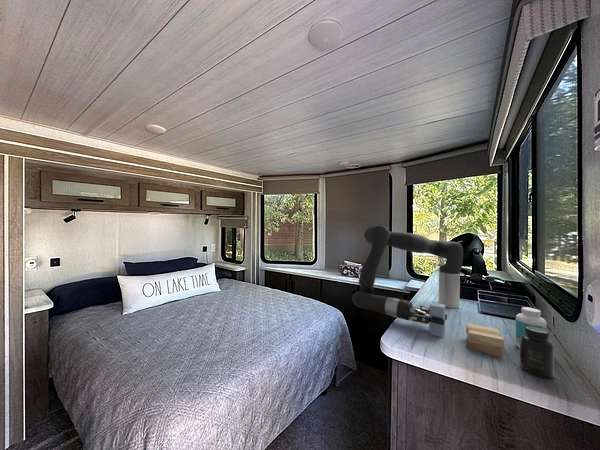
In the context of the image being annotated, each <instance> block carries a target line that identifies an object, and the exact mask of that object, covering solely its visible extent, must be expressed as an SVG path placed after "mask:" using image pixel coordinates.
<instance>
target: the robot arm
mask: <svg viewBox="0 0 600 450" xmlns="http://www.w3.org/2000/svg"><path fill="white" fill-rule="evenodd" d="M363 236H364V239H365V240H366V242H367V243H369V244H370V245H371V249H370V250H369V254H368V256H367V258H366V259H365V261H364V263H363V265H362V268H361V271H360V273H359V278H358V285H360V286H359V287H360V289H359V291H356V292H354V293H353V294H352V296H351V301H352V303H353V304H354V306H356V307H357V308H361V309H364V310H370V311H375V312H378V313H381V314H385V315H388V316H390V317H393V318H397V319H401V320H405V321H408V322H409V321H412V322H416V323H421V324H425V325H429V323H436V324H440V325H444V319H442V318H438V317H434V316H433V317H432V316H431V315H430V307H427V306H423V305H419V306H413V303H412V301H409V300H405V299H399V298H396V297H388V296H384V295H377V294H376V295H375V294H374V285H375V282H376V278H377V277H376V276H377V273H378V269H379V267H380V263H381V259H382V257H383V255H384V252H385V250H386V247H387V246H388V247H392V248H395V249H398V250H402V251H407V252H411V253H417V254H429V255H433V256H435V257H439V258H441V259H445V260H446V261H445V264H442V265H439V268H438V294H437V295H438V297H437V299H438V301H437V303H439V304H444V305H446V308H449V309H459V308H460V297H461V295H460V293H461V292H460V291H461V287H460V286H461V285H460V284H461V270H462V268H463V258H464V248H463V246H462V244H461V243H459V242H457V241H447V240H446V241H444V240H434V239H430V238H428V237H426V236H424V235H421V234H417V233H412V232H405V231H390V230H389V228H388V227H386V226H385V225H382V224H380V225H379V224H378V225H372V226H369V227H367V228H366V230H365V231H364V234H363ZM447 319H448V315H447V314H446V313H445V321H447Z"/></svg>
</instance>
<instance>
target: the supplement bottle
mask: <svg viewBox="0 0 600 450" xmlns="http://www.w3.org/2000/svg"><path fill="white" fill-rule="evenodd" d="M525 334H526V335H523V336H521V337H520V348H519V366H520V368H521V369H522V370H524V371H525V372H527V373H529V374H531V375H533V376H536V377H540V378H544V379H551V378H552V377H553V376H554V365H555V364H554V362H555V360H554V359H555V358H554V357H555V346H554V344H553V343H552V342H551V341H550V340H549V339H550V332H549V331H548V330H544V329H541V328H538V327H533V326H525Z"/></svg>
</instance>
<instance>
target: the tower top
mask: <svg viewBox="0 0 600 450" xmlns="http://www.w3.org/2000/svg"><path fill="white" fill-rule="evenodd" d="M465 332H466V335H467V336H468V339H469V342H473V343H478V344H482V345H487V346H491V347H496V348H500V349H501V350H505V338H504V337H503V335H502V333H501V332H500V331H499V329H498V328H494V327H489V326H488V327H487V326H484V325H479V324H478V325H477V324H473V323H467V322H466V325H465ZM467 336H466V337H467Z"/></svg>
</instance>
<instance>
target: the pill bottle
mask: <svg viewBox="0 0 600 450" xmlns="http://www.w3.org/2000/svg"><path fill="white" fill-rule="evenodd" d="M541 315H542V311H541V310H540V309H537V308H533V307H528V306H527V307H525V306H524V307H523V306H522V307H521V313H518V314H516V315H515V334H514V335H515V337H514V338H515V341H514V342H515V346H516V347H518V348H519V349H520V337H521V336H523V335H526V334H525V326H533V327H538V328H541V329H544V330H546V331H548V330H547V325H548V323H547V321H546V319H545V318H543V317H541Z"/></svg>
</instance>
